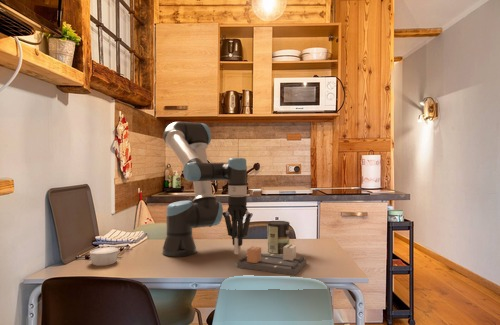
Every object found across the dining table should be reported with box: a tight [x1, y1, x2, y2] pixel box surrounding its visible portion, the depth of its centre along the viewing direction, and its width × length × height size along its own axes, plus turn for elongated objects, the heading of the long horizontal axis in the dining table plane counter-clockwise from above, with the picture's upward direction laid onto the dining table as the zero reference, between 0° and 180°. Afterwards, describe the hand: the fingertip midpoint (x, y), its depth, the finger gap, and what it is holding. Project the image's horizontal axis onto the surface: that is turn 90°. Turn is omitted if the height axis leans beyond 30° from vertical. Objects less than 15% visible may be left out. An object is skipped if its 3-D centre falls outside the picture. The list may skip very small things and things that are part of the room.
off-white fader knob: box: [283, 244, 297, 261], centre depth 140 cm, size 4×5×5 cm
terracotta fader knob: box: [246, 245, 262, 263], centre depth 137 cm, size 4×5×5 cm
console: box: [236, 252, 307, 276], centre depth 139 cm, size 24×17×3 cm
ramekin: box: [89, 246, 120, 267], centre depth 142 cm, size 11×11×5 cm
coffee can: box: [266, 220, 290, 256], centre depth 158 cm, size 10×10×14 cm
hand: (237, 253), depth 140 cm, fingers closed
